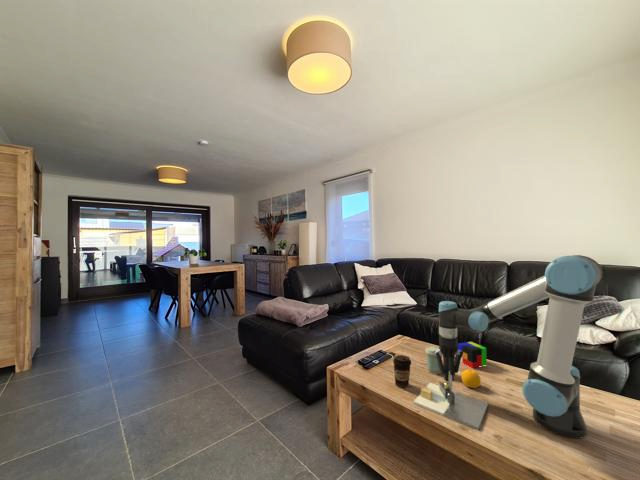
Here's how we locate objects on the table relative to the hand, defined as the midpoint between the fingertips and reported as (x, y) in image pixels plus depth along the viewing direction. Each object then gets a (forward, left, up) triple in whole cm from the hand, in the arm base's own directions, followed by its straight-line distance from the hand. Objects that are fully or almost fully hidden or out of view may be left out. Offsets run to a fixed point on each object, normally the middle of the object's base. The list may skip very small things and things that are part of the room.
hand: (449, 388), depth 120 cm
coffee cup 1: (+19, +7, -3) cm, 21 cm away
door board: (+3, +8, -2) cm, 9 cm away
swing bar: (+1, +3, -1) cm, 3 cm away
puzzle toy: (-1, -41, -3) cm, 41 cm away
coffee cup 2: (+12, -17, -3) cm, 21 cm away
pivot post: (-3, +8, -2) cm, 9 cm away
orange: (-6, -14, -3) cm, 15 cm away
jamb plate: (-9, +8, -2) cm, 13 cm away
